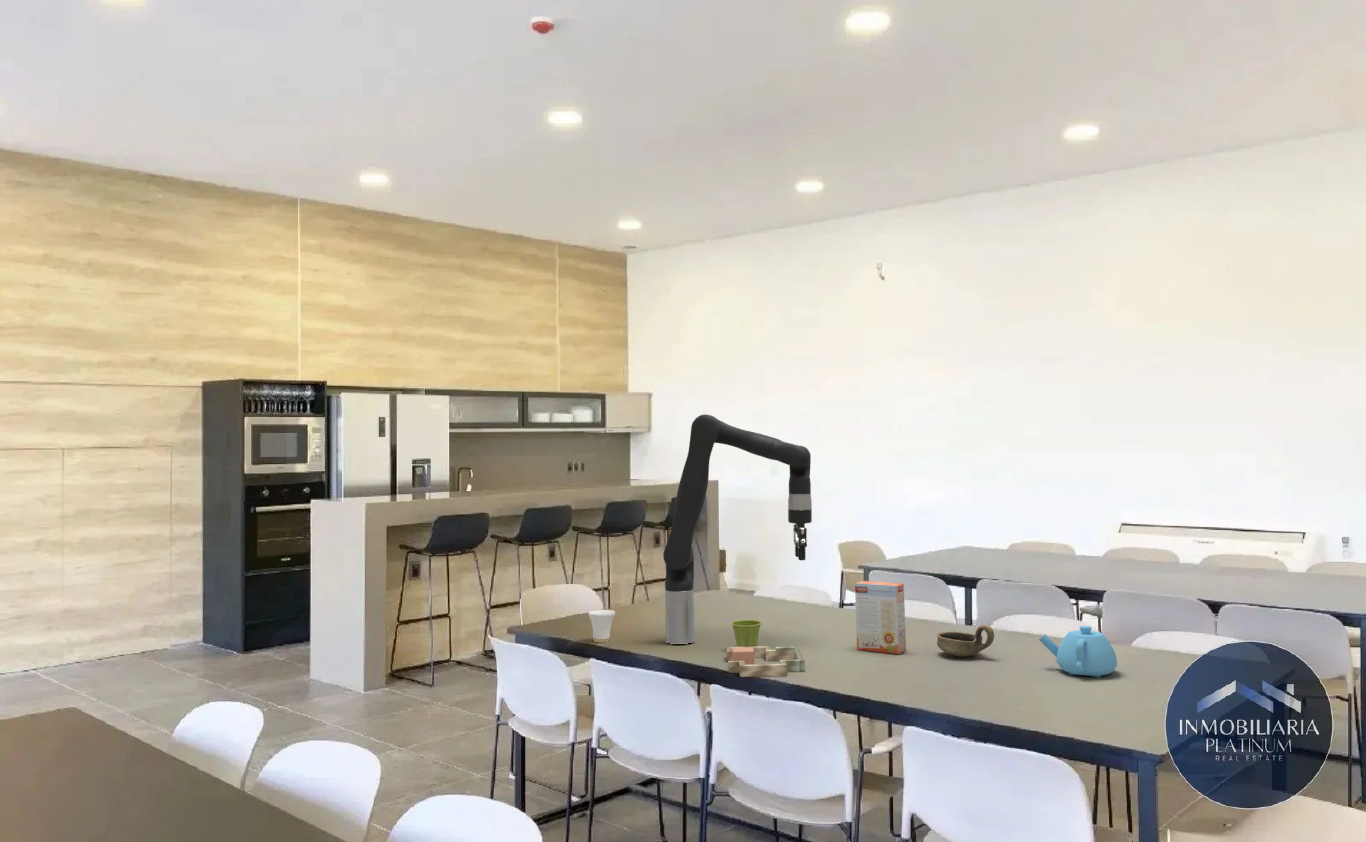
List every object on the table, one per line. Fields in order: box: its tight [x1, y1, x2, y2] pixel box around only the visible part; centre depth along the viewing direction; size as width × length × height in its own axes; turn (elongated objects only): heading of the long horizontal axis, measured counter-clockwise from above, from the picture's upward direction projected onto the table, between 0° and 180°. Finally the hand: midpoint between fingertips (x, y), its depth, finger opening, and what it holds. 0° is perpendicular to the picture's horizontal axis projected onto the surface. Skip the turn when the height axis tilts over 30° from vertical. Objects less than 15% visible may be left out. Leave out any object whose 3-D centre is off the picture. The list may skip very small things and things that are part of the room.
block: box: [732, 647, 755, 665], centre depth 284 cm, size 6×6×5 cm
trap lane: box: [726, 645, 806, 678], centre depth 284 cm, size 22×25×4 cm
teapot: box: [1038, 625, 1118, 678], centre depth 268 cm, size 20×20×13 cm
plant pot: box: [730, 619, 762, 647], centre depth 305 cm, size 9×9×9 cm
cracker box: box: [854, 580, 907, 655], centre depth 300 cm, size 14×6×21 cm, turn 53°
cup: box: [587, 609, 616, 639], centre depth 324 cm, size 9×9×10 cm
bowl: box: [936, 624, 995, 658], centre depth 290 cm, size 14×18×10 cm
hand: (800, 558), depth 314 cm, fingers open, 8 cm apart
